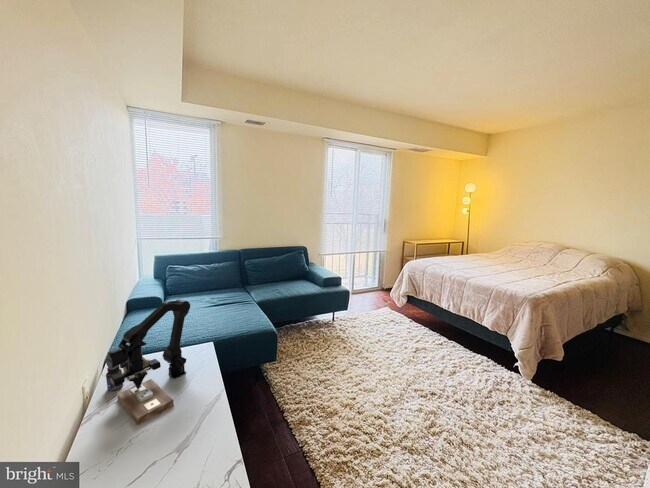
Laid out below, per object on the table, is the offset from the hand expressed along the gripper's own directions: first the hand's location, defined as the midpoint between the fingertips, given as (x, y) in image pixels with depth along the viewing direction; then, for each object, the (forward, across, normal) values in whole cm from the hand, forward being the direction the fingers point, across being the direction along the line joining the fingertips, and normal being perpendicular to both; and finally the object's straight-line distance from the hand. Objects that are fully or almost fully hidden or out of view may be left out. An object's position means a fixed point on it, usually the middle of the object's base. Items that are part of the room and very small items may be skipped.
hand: (138, 388), depth 131 cm
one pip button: (+3, 0, +16) cm, 16 cm away
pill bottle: (+4, +5, -15) cm, 16 cm away
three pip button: (+2, 0, +8) cm, 8 cm away
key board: (+4, 0, +8) cm, 9 cm away
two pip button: (+3, 0, 0) cm, 3 cm away
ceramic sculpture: (+4, -7, -23) cm, 24 cm away
